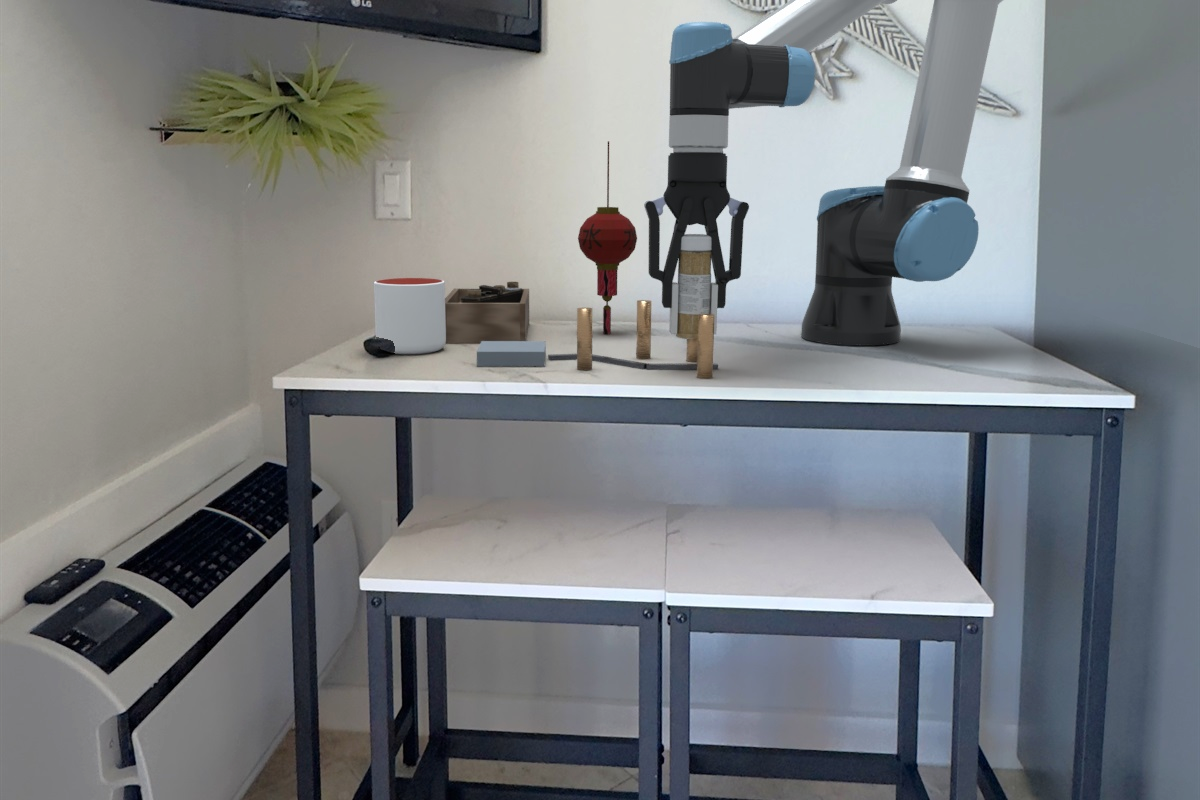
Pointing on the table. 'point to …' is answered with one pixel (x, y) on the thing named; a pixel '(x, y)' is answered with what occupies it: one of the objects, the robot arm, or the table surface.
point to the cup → (411, 314)
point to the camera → (494, 294)
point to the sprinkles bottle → (693, 283)
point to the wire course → (646, 344)
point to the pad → (511, 353)
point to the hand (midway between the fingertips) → (692, 332)
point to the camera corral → (485, 319)
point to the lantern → (607, 248)
